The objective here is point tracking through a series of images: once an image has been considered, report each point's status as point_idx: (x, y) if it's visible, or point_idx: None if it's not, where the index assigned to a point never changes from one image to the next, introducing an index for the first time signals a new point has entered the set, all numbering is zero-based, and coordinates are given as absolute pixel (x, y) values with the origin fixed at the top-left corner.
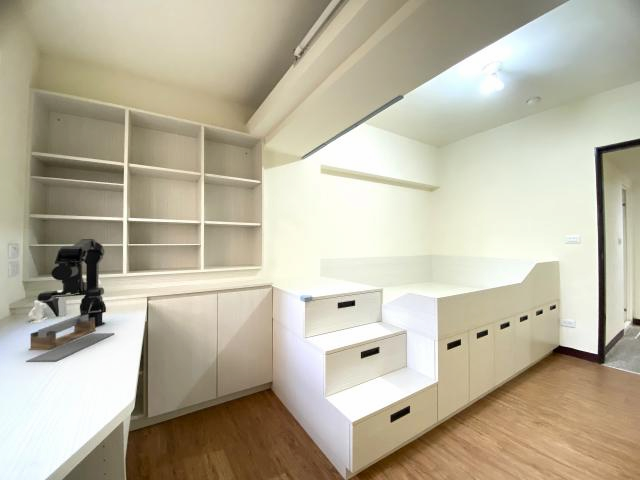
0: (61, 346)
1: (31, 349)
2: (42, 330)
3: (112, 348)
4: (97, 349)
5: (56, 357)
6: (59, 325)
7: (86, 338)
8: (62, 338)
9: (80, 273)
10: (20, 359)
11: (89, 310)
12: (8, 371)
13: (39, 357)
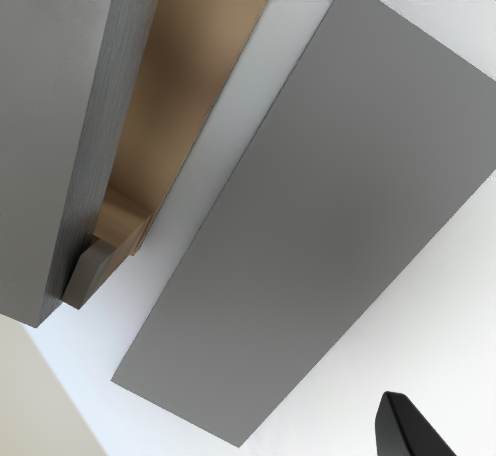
0: (195, 250)
1: None
2: (5, 308)
3: (472, 429)
4: None
5: (230, 420)
6: (71, 190)
7: (322, 151)
8: None
9: None
10: (63, 313)
11: (427, 445)
12: (98, 429)
13: (150, 373)
